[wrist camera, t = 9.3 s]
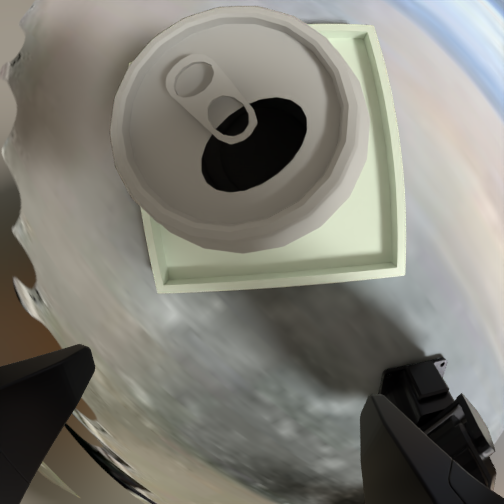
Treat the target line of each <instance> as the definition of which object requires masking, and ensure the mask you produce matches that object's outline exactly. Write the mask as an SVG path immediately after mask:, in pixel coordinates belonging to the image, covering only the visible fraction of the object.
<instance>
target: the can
mask: <svg viewBox="0 0 504 504" xmlns="http://www.w3.org/2000/svg"><path fill="white" fill-rule="evenodd" d="M369 128H370V117H369V113H368V109H367V105H366V102H365V98H364V95H363V91H362V88H361V85H360V81H359V80H358V78H357V77H356V75H355V74H354V72H353V71H352V70H351V68H350V67H349V65H348V64H347V63H346V61H345V60H344V58H343V57H342V56H341V54H340V53H339V52H338V50H337V49H335V48H334V47H333V45H332V44H331V43H330V42H329V40H328V39H327V38H326V37H325V36H323V35H322V34H320V33H319V32H318V31H316V30H315V29H313V28H312V27H310V26H309V25H307V24H306V23H304V22H303V21H301V20H299V19H298V18H296V17H295V16H292V15H288V14H285V13H282V12H278V11H275V10H271V9H267V8H263V7H259V6H228V7H217V8H214V9H210V10H207V11H204V12H201V13H198V14H194V15H191V16H189V17H186V18H183V19H181V20H180V21H178V22H177V23H175V24H174V25H172V26H170V27H169V28H167V29H166V30H164V31H163V32H161V33H160V34H158V35H157V36H156V37H154V38H153V39H152V40H151V41H150V42H149V43H148V44H147V45H146V46H145V48H144V49H143V50H142V51H141V52H140V53H139V55H138V56H137V57H136V58H135V59H134V60H133V62H132V63H131V64H130V65H129V67H128V69H127V71H126V73H125V75H124V77H123V80H122V82H121V84H120V86H119V88H118V91H117V93H116V95H115V98H114V103H113V110H112V117H111V125H110V139H111V145H112V151H113V157H114V162H115V167H116V169H117V171H118V173H119V175H120V177H121V179H122V181H123V183H124V185H125V186H126V188H127V190H128V192H129V194H130V196H131V198H132V199H133V200H134V201H135V202H136V203H137V204H138V205H139V206H141V207H142V208H143V209H144V210H145V211H146V212H147V213H148V214H149V215H150V216H151V217H152V218H153V219H154V220H155V221H156V222H157V223H159V224H161V225H162V226H163V227H164V228H166V229H167V230H168V231H169V232H170V233H172V234H174V235H176V236H179V237H181V238H183V239H185V240H187V241H189V242H191V243H193V244H195V245H197V246H200V247H202V248H204V249H211V250H219V251H226V252H234V253H241V254H245V253H250V252H256V251H262V250H267V249H273V248H279V247H284V246H286V245H288V244H290V243H291V242H293V241H295V240H297V239H299V238H301V237H303V236H305V235H307V234H308V233H310V232H312V231H314V230H316V229H318V228H320V227H321V226H322V225H323V224H324V223H325V222H326V221H327V220H328V219H329V218H330V217H331V216H332V215H333V214H334V213H335V212H336V211H337V210H338V209H339V207H340V206H341V205H342V204H343V203H344V202H345V201H346V200H347V199H348V198H349V197H350V195H351V193H352V191H353V189H354V187H355V184H356V182H357V180H358V178H359V176H360V173H361V171H362V169H363V167H364V165H365V162H366V160H367V153H368V141H369Z"/></svg>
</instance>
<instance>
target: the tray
mask: <svg viewBox="0 0 504 504" xmlns="http://www.w3.org/2000/svg"><path fill="white" fill-rule="evenodd" d="M307 25H309V26H310V27H312V28H313V29H315V30H316V31H318V32H319V33H320V34H322V35H323V36H325V37H326V38H327V39H328V40H329V42H330V43H331V44H332V45H333V47H334V48H335V49H337V50H338V52H339V53H340V54H341V56H342V57H343V58H344V60H345V61H346V63H347V64H348V65H349V67H350V68H351V70H352V71H353V72H354V74H355V75H356V77H357V78H358V80H359V81H360V85H361V88H362V91H363V95H364V98H365V102H366V105H367V109H368V113H369V117H370V128H369V141H368V153H367V160H366V162H365V165H364V167H363V169H362V171H361V173H360V176H359V178H358V180H357V182H356V184H355V187H354V189H353V191H352V193H351V195H350V197H349V198H348V199H347V200H346V201H345V202H344V203H343V204H342V205H341V206H340V207H339V209H338V210H337V211H336V212H335V213H334V214H333V215H332V216H331V217H330V218H329V219H328V220H327V221H326V222H325V223H324V224H323V225H322V226H321V227H320V228H318V229H316V230H314V231H312V232H310V233H308V234H307V235H305V236H303V237H301V238H299V239H297V240H295V241H293V242H291V243H290V244H288V245H286V246H284V247H279V248H273V249H267V250H262V251H256V252H250V253H245V254H241V253H234V252H226V251H219V250H211V249H204V248H202V247H200V246H197V245H195V244H193V243H191V242H189V241H187V240H185V239H183V238H181V237H179V236H176V235H174V234H172V233H170V232H169V231H168V230H167V229H166V228H164V227H163V226H162V225H161V224H159V223H157V222H156V221H155V220H154V219H153V218H152V217H151V216H150V215H149V214H148V213H147V212H146V211H145V210H144V209H143V208H142V207H141V206H140V207H141V213H142V219H143V225H144V231H145V236H146V241H147V247H148V252H149V257H150V261H151V266H152V271H153V275H154V280H155V284H156V288H157V292H158V294H162V293H189V292H211V291H230V290H247V289H262V288H277V287H290V286H303V285H315V284H327V283H338V282H348V281H358V280H368V279H377V278H386V277H395V276H404V275H405V262H406V210H405V190H404V176H403V165H402V155H401V147H400V139H399V132H398V125H397V119H396V113H395V108H394V102H393V97H392V92H391V88H390V83H389V79H388V74H387V70H386V66H385V62H384V59H383V55H382V51H381V48H380V44H379V41H378V38H377V34H376V31H375V28H374V26H373V25H358V24H307ZM132 62H133V61H132ZM132 62H130V63H129V65H130V64H131V63H132Z"/></svg>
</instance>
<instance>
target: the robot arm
mask: <svg viewBox="0 0 504 504" xmlns="http://www.w3.org/2000/svg"><path fill="white" fill-rule="evenodd" d="M441 363H442V364H441ZM446 365H447V361H446V359H445V358H439V359H435V360H431V361H427V362H422V363H417V364H412V365H407V366H402V367H397V368H391V369H387V370H385V371H384V372H383V375H382V381H381V386H380V392H379V394H372V395H370V396H369V397H368V398H367V401H366V403H365V405H364V408H363V410H362V412H361V416H360V441H361V469H362V477H363V487H364V497H365V504H504V498H502V497H501V496H500V495H498V494H496V493H495V492H494V491H493V490H494V485H495V479H496V469H495V467H494V465H493V463H492V461H491V459H490V457H489V456H490V455H492V454H493V453H494V452H495V448H494V445H493V442H492V439H491V436H490V433H489V430H488V428H487V426H486V424H485V423H484V421H483V419H482V418H481V416H480V414H479V413H478V411H477V410H476V409H475V408H474V407H473V405H472V404H471V403H470V402H469V401H468V400H467V398H466V397H465V396H464V395H463V394H462V393H461V394H460V395H459V396H458V397H457V399H456V400H455V401H454V399H453V397H452V396H451V394H450V392H449V388H448V386H447V384H446V383H445V381H444V379H443V375H444V372H445V369H446ZM94 371H95V364H94V360H93V357H92V353H91V350H90V348H89V347H87V346H84V345H82V344H77V345H74V346H71V347H68V348H64V349H61V350H58V351H54V352H51V353H48V354H44V355H41V356H37V357H34V358H30V359H27V360H23V361H19V362H16V363H12V364H8V365H5V366H1V367H0V504H20V502H21V500H22V498H23V496H24V494H25V492H26V490H27V489H28V487H29V485H30V483H31V481H32V479H33V477H34V476H35V474H36V472H37V470H38V468H39V467H40V465H41V463H42V461H43V460H44V458H45V456H46V455H47V453H48V451H49V449H50V448H51V446H52V444H53V443H54V441H55V439H56V438H57V436H58V435H59V433H60V431H61V430H62V428H63V427H64V425H65V423H66V422H67V420H68V419H69V417H70V415H71V414H72V412H73V411H74V409H75V408H76V406H77V404H78V402H79V401H80V399H81V397H82V395H83V393H84V391H85V389H86V387H87V385H88V383H89V381H90V379H91V377H92V375H93V373H94ZM388 374H389V375H388Z"/></svg>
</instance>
